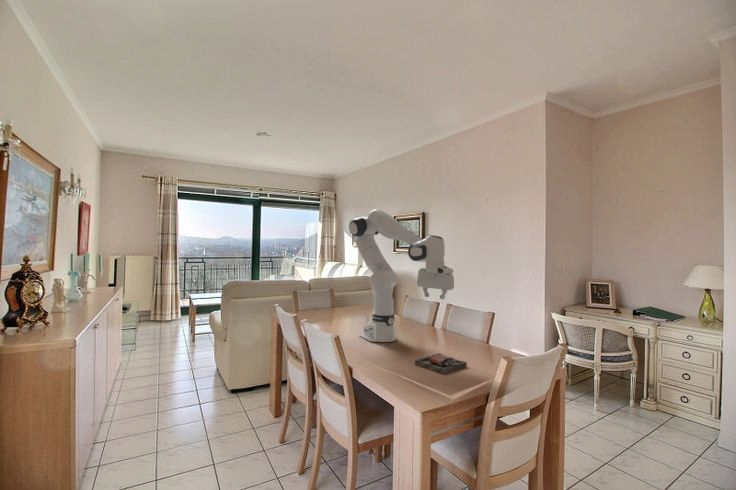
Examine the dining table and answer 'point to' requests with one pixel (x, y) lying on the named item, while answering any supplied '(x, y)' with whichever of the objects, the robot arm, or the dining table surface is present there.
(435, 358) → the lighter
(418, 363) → the dark brown tray
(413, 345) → the dining table surface
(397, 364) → the dining table surface
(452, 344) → the dining table surface
